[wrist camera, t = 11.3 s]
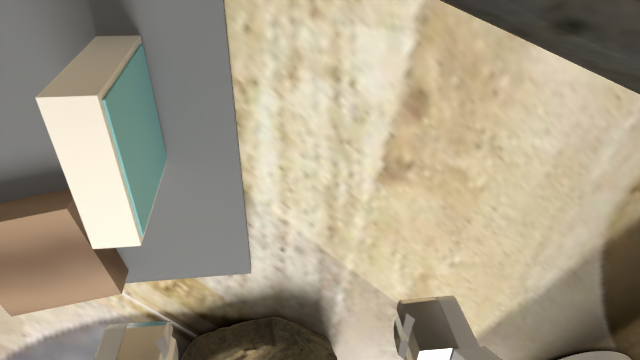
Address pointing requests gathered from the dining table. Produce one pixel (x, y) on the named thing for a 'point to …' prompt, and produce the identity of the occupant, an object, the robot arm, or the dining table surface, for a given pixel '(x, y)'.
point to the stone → (260, 342)
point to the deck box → (107, 138)
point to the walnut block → (52, 256)
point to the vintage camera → (573, 31)
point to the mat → (173, 112)
